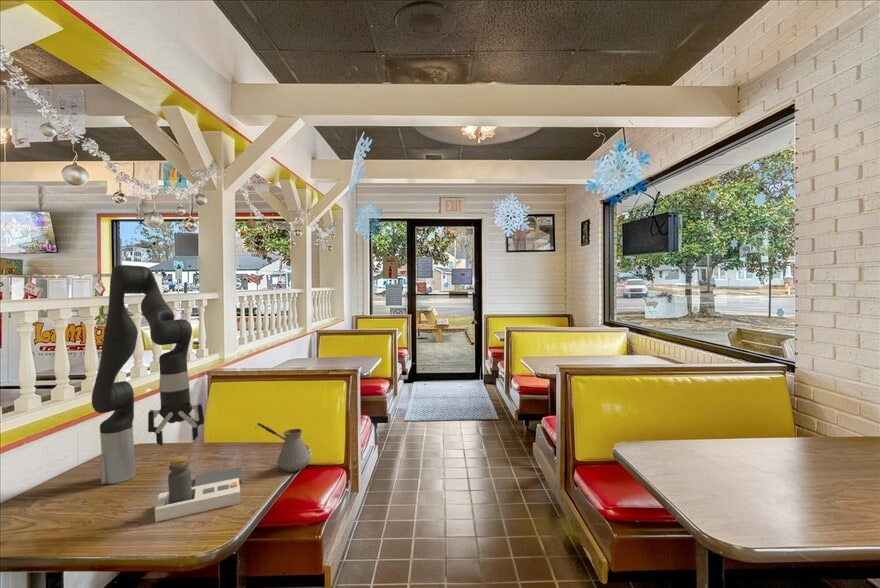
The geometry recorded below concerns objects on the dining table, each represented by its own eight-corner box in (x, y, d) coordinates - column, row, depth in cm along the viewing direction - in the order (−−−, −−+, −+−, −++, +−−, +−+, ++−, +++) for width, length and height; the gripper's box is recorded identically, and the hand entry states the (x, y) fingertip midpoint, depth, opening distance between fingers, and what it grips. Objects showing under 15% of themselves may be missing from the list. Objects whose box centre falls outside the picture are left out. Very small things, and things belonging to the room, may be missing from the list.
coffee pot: (317, 462, 168) (315, 421, 167) (298, 475, 157) (296, 432, 157) (269, 456, 175) (267, 417, 174) (247, 469, 164) (245, 427, 163)
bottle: (182, 513, 133) (179, 462, 133) (165, 512, 135) (162, 461, 134) (196, 504, 139) (194, 455, 139) (180, 502, 140) (177, 454, 140)
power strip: (155, 522, 129) (154, 507, 129) (160, 504, 139) (159, 491, 139) (240, 503, 139) (240, 489, 139) (239, 488, 149) (238, 476, 149)
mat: (194, 493, 146) (194, 489, 146) (196, 478, 157) (195, 475, 157) (242, 483, 152) (241, 480, 152) (240, 470, 163) (240, 466, 163)
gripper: (202, 382, 142) (205, 434, 143) (148, 388, 136) (151, 442, 137) (201, 386, 135) (204, 441, 136) (144, 393, 129) (147, 450, 130)
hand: (177, 442), depth 136 cm, fingers open, 8 cm apart
